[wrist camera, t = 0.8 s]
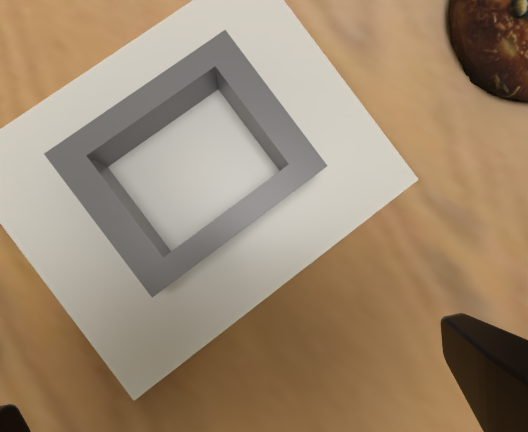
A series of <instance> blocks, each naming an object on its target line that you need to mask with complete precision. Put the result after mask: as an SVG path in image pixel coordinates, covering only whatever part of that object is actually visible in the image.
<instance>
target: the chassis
mask: <svg viewBox="0 0 528 432" xmlns="http://www.w3.org/2000/svg"><path fill="white" fill-rule="evenodd" d="M417 180H418V178H417V177H416V176H415V174H414V173H413V172H412V170H411V169H410V168H409V166H408V165H407V164H406V162H405V161H404V160H403V158H402V157H401V156H400V154H399V153H398V152H397V150H396V149H395V148H394V146H393V145H392V144H391V142H390V141H389V140H388V138H387V137H386V136H385V134H384V133H383V132H382V130H381V129H380V128H379V126H378V125H377V124H376V122H375V121H374V120H373V118H372V117H371V116H370V114H369V113H368V112H367V110H366V109H365V108H364V106H363V105H362V104H361V102H360V101H359V100H358V98H357V97H356V96H355V94H354V93H353V92H352V90H351V89H350V88H349V86H348V85H347V84H346V82H345V81H344V80H343V79H342V77H341V76H340V75H339V73H338V72H337V71H336V69H335V68H334V67H333V65H332V64H331V63H330V61H329V60H328V59H327V57H326V56H325V55H324V53H323V52H322V51H321V49H320V48H319V47H318V45H317V44H316V43H315V41H314V40H313V39H312V37H311V36H310V35H309V33H308V32H307V31H306V29H305V28H304V27H303V25H302V24H301V23H300V21H299V20H298V19H297V17H296V16H295V15H294V13H293V12H292V11H291V9H290V8H289V7H288V5H287V4H286V3H285V1H284V0H193V1H191V2H190V3H188V4H187V5H185V6H184V7H182V8H181V9H179V10H178V11H176V12H175V13H173V14H172V15H170V16H169V17H167V18H166V19H164V20H163V21H161V22H160V23H158V24H157V25H155V26H154V27H152V28H151V29H149V30H148V31H146V32H145V33H143V34H142V35H140V36H139V37H137V38H136V39H134V40H133V41H131V42H130V43H128V44H127V45H125V46H124V47H122V48H121V49H119V50H118V51H116V52H115V53H113V54H112V55H110V56H109V57H107V58H106V59H104V60H103V61H101V62H100V63H99V64H97V65H96V66H94V67H93V68H91V69H90V70H88V71H87V72H85V73H84V74H82V75H81V76H79V77H78V78H76V79H75V80H73V81H72V82H70V83H69V84H67V85H66V86H64V87H63V88H61V89H60V90H58V91H57V92H55V93H54V94H52V95H51V96H49V97H48V98H46V99H45V100H43V101H42V102H40V103H39V104H37V105H36V106H34V107H33V108H31V109H30V110H28V111H27V112H25V113H24V114H22V115H21V116H19V117H18V118H16V119H15V120H13V121H12V122H10V123H9V124H7V125H6V126H4V127H3V128H1V129H0V224H1V225H2V226H3V228H4V229H5V230H6V232H7V233H8V234H9V236H10V237H11V238H12V240H13V241H14V242H15V244H16V245H17V246H18V248H19V249H20V250H21V252H22V253H23V254H24V256H25V257H26V258H27V260H28V261H29V262H30V264H31V265H32V266H33V268H34V269H35V270H36V272H37V273H38V274H39V276H40V277H41V278H42V279H43V281H44V282H45V283H46V285H47V286H48V287H49V289H50V290H51V291H52V293H53V294H54V295H55V297H56V298H57V299H58V301H59V302H60V303H61V305H62V306H63V307H64V309H65V310H66V311H67V313H68V314H69V315H70V317H71V318H72V319H73V321H74V322H75V323H76V325H77V326H78V327H79V329H80V330H81V331H82V333H83V334H84V335H85V337H86V338H87V339H88V341H89V342H90V343H91V345H92V346H93V347H94V349H95V350H96V351H97V353H98V354H99V355H100V357H101V358H102V359H103V361H104V362H105V363H106V365H107V366H108V367H109V369H110V370H111V371H112V373H113V374H114V375H115V377H116V378H117V379H118V381H119V382H120V383H121V385H122V386H123V387H124V389H125V390H126V391H127V393H128V394H129V395H130V396H131V398H132V399H133V400H134V401H135V400H136V399H137V398H138V397H140V396H141V395H142V394H144V393H145V392H146V391H147V390H149V389H150V388H151V387H153V386H154V385H155V384H156V383H158V382H159V381H160V380H162V379H163V378H164V377H165V376H167V375H168V374H169V373H171V372H172V371H173V370H174V369H176V368H177V367H178V366H180V365H181V364H182V363H183V362H185V361H186V360H187V359H189V358H190V357H191V356H192V355H194V354H195V353H196V352H198V351H199V350H200V349H201V348H203V347H204V346H205V345H207V344H208V343H209V342H210V341H212V340H213V339H214V338H216V337H217V336H218V335H219V334H221V333H222V332H223V331H225V330H226V329H227V328H228V327H230V326H231V325H232V324H234V323H235V322H236V321H237V320H239V319H240V318H241V317H242V316H244V315H245V314H246V313H248V312H249V311H250V310H251V309H253V308H254V307H255V306H257V305H258V304H259V303H260V302H262V301H263V300H264V299H266V298H267V297H268V296H269V295H271V294H272V293H273V292H275V291H276V290H277V289H278V288H280V287H281V286H282V285H284V284H285V283H286V282H287V281H289V280H290V279H291V278H293V277H294V276H295V275H296V274H298V273H299V272H300V271H302V270H303V269H304V268H305V267H307V266H308V265H309V264H311V263H312V262H313V261H314V260H316V259H317V258H318V257H320V256H321V255H322V254H323V253H325V252H326V251H327V250H329V249H330V248H331V247H332V246H334V245H335V244H336V243H338V242H339V241H340V240H341V239H343V238H344V237H345V236H347V235H348V234H349V233H350V232H352V231H353V230H354V229H356V228H357V227H358V226H359V225H361V224H362V223H363V222H365V221H366V220H367V219H368V218H370V217H371V216H372V215H374V214H375V213H376V212H377V211H379V210H380V209H381V208H383V207H384V206H385V205H386V204H388V203H389V202H390V201H392V200H393V199H394V198H395V197H397V196H398V195H399V194H401V193H402V192H403V191H404V190H406V189H407V188H408V187H410V186H411V185H412V184H413V183H415V182H416V181H417Z"/></svg>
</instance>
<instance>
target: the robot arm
mask: <svg viewBox="0 0 528 432" xmlns="http://www.w3.org/2000/svg"><path fill="white" fill-rule="evenodd" d="M441 334H442V346H443V354H444V357H445V360H446V362H447V364H448V366H449V368H450V370H451V372H452V374H453V376H454V377H455V379H456V381H457V383H458V385H459V387H460V389H461V390H462V392H463V394H464V396H465V398H466V400H467V402H468V404H469V405H470V407H471V409H472V411H473V413H474V415H475V417H476V418H477V420H478V422H479V424H480V426H481V428H482V429H483V431H484V432H528V340H526V339H524V338H521V337H519V336H517V335H514V334H512V333H509V332H507V331H505V330H502V329H500V328H497V327H495V326H493V325H490V324H488V323H485V322H483V321H481V320H478V319H476V318H473V317H471V316H469V315H466V314H463V313H460V314H454V315H450V316H445V317H443V318H442V319H441ZM0 432H31V431H30V429H29V427H28V425H27V424H26V422H25V420H24V418H23V416H22V415H21V413H20V411H19V409H18V408H17V407H16V406H15V405H12V404H8V405H3V406H0Z"/></svg>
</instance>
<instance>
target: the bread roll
mask: <svg viewBox="0 0 528 432" xmlns="http://www.w3.org/2000/svg"><path fill="white" fill-rule="evenodd" d="M449 13H450V16H449V18H450V26H451V38H452V44H453V46H454V48H455V51H456V52H457V54H458V56H459V60H460V62H461V63H462V65H463V67H464V72H465V74H466V75H467V76H469V77H470V81H471V82H472V83H474V84H475V85H477V86H479V87H480V88H482V89H483V90H485V91H487V93H489V94H492V95H495V96H497V95H500V96H503V98H504V99H509V100H512V101H514V100H515V101H520V102H528V0H451V7H450V12H449ZM496 94H497V95H496Z"/></svg>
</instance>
